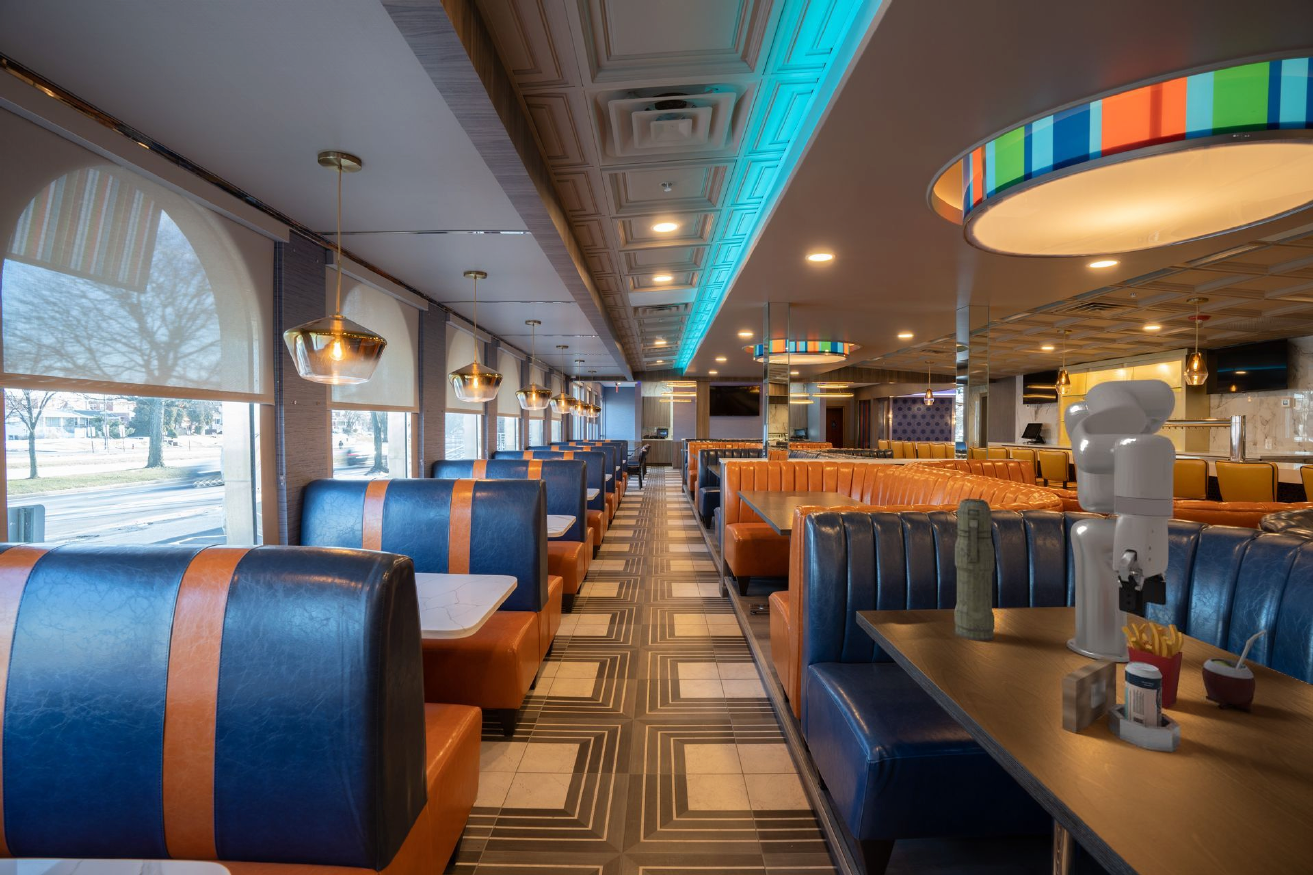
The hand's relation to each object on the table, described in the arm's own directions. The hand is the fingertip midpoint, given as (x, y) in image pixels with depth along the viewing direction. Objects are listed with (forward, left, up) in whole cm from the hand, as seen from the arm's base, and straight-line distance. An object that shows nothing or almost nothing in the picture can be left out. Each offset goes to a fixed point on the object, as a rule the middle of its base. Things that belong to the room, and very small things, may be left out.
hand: (1142, 607), depth 93 cm
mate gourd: (-28, +5, -22) cm, 36 cm away
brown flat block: (0, -7, -22) cm, 23 cm away
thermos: (-24, -41, -22) cm, 53 cm away
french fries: (-19, -4, -22) cm, 30 cm away
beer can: (0, 0, -22) cm, 22 cm away
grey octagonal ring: (0, 0, -22) cm, 22 cm away
